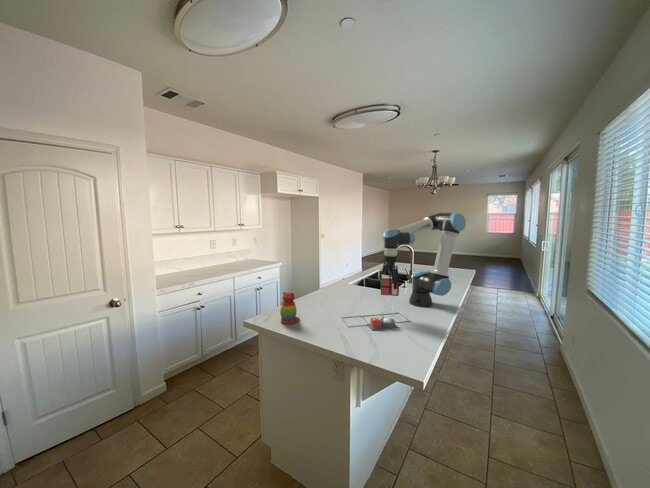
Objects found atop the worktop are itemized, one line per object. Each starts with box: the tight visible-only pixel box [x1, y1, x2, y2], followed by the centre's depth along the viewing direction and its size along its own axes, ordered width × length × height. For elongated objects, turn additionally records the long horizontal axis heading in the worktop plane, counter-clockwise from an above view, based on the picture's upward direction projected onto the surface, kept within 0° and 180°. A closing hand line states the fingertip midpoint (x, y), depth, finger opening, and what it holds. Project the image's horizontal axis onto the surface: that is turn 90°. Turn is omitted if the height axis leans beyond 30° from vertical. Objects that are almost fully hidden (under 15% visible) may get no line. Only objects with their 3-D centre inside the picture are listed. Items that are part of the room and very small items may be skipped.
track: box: [341, 312, 411, 328], centre depth 158 cm, size 38×14×1 cm, turn 102°
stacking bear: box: [279, 291, 301, 326], centre depth 155 cm, size 11×10×18 cm
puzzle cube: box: [380, 274, 400, 297], centre depth 157 cm, size 10×10×10 cm
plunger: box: [383, 317, 393, 323], centre depth 149 cm, size 5×5×3 cm
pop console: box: [366, 316, 399, 331], centre depth 148 cm, size 15×8×5 cm, turn 102°
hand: (389, 291), depth 158 cm, fingers closed on puzzle cube, 12 cm apart
